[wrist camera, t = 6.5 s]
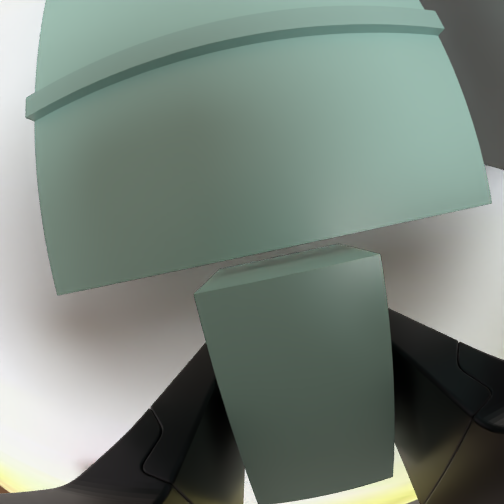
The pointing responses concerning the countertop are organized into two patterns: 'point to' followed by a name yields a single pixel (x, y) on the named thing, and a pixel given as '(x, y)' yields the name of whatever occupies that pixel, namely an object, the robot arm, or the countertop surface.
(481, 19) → the tub
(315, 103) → the lid
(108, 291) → the countertop surface
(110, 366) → the countertop surface
